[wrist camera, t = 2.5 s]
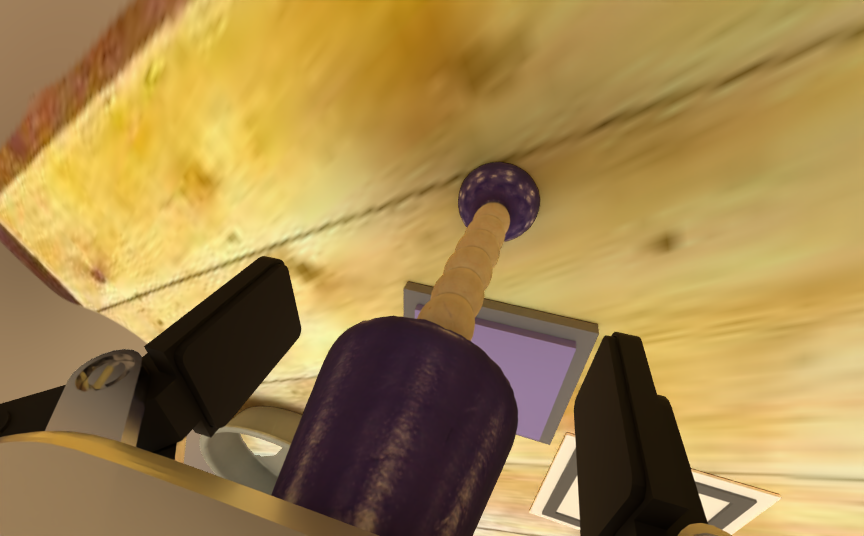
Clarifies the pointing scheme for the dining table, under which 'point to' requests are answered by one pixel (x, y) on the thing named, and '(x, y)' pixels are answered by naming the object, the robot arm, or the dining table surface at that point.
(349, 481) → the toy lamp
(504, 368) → the ink pad
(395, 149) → the dining table surface
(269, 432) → the cake pan
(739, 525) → the marked card
